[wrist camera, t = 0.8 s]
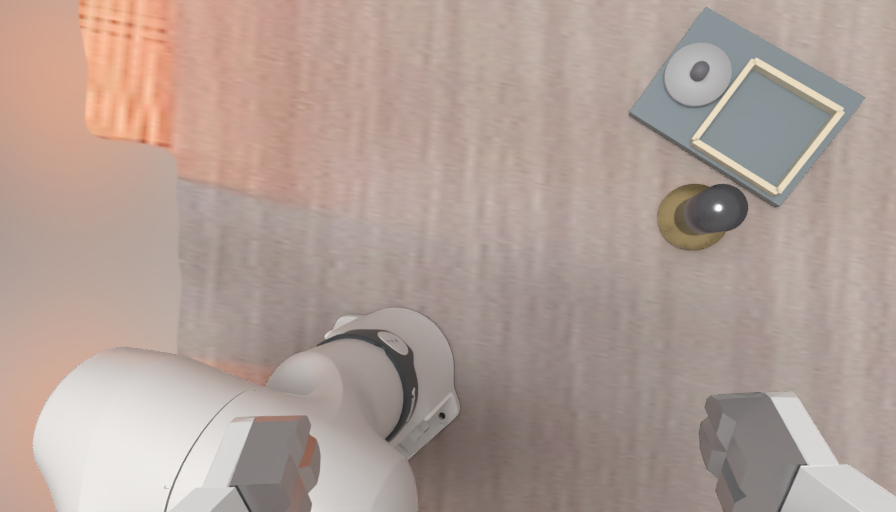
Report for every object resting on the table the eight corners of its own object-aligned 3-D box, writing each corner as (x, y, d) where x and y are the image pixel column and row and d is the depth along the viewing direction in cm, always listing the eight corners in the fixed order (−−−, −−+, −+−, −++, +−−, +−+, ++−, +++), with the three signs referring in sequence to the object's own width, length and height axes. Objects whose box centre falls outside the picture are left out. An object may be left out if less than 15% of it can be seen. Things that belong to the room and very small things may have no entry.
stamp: (699, 262, 61) (732, 265, 47) (644, 225, 62) (660, 218, 48) (741, 209, 60) (786, 196, 46) (684, 172, 61) (711, 150, 47)
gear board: (774, 207, 59) (789, 203, 55) (628, 115, 62) (631, 105, 58) (858, 101, 57) (879, 89, 53) (702, 12, 60) (711, -6, 56)
